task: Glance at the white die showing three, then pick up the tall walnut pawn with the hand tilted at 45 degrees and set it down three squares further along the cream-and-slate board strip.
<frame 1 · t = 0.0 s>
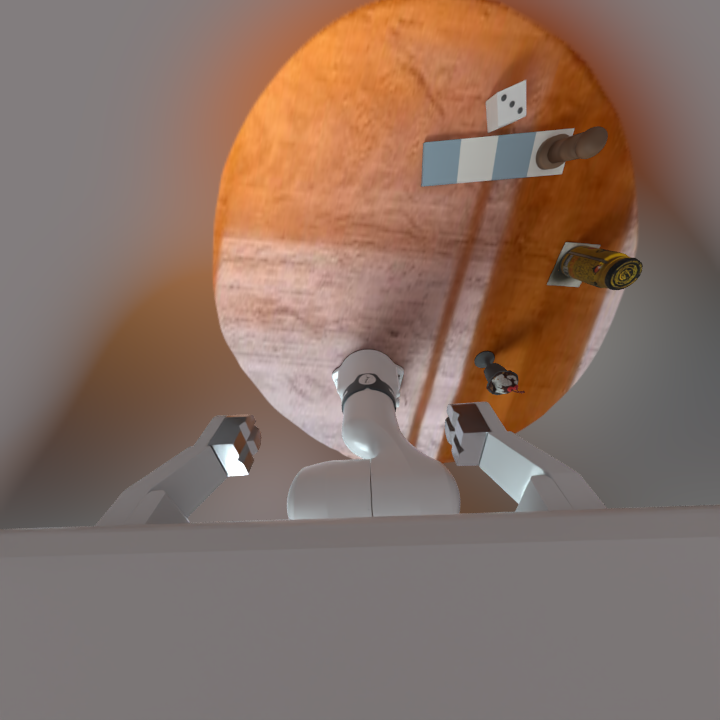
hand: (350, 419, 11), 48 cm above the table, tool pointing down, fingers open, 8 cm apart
die: (499, 112, 41), on the table
pawn: (549, 153, 43), point 1 cm above the table, touching board
sundae: (484, 358, 66), on the table
board: (492, 159, 44), on the table
condiment: (571, 265, 54), on the table
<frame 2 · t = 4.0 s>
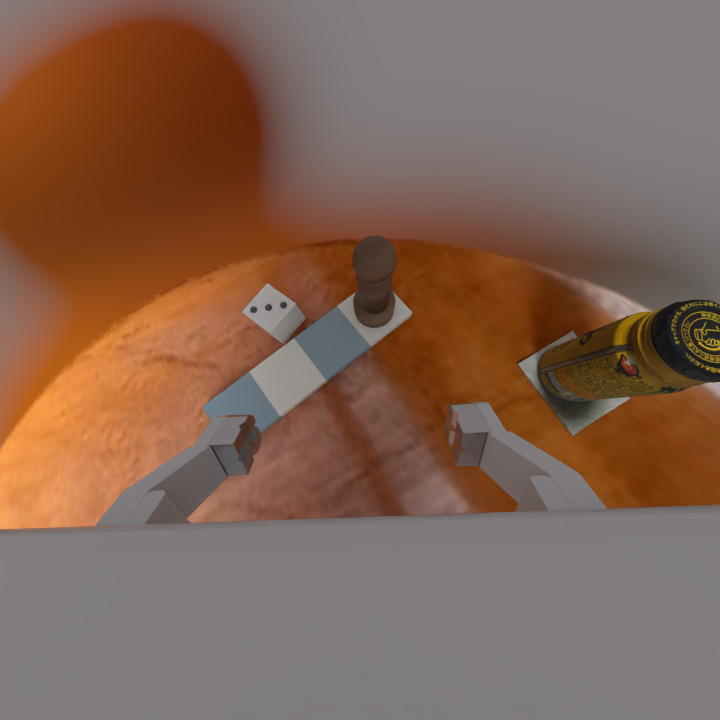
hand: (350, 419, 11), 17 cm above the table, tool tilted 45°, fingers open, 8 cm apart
die: (282, 322, 30), on the table
pawn: (374, 309, 29), point 1 cm above the table, touching board
board: (311, 360, 29), on the table
condiment: (569, 381, 27), on the table
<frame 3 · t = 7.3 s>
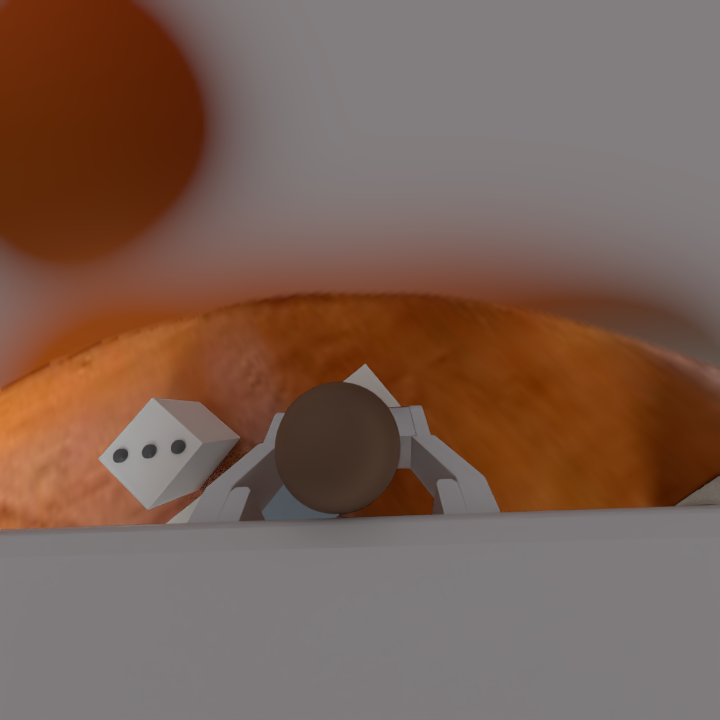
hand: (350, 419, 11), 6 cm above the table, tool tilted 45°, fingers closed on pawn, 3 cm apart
die: (200, 443, 17), on the table
pawn: (358, 430, 16), point 1 cm above the table, touching board, gripper
board: (246, 523, 16), on the table
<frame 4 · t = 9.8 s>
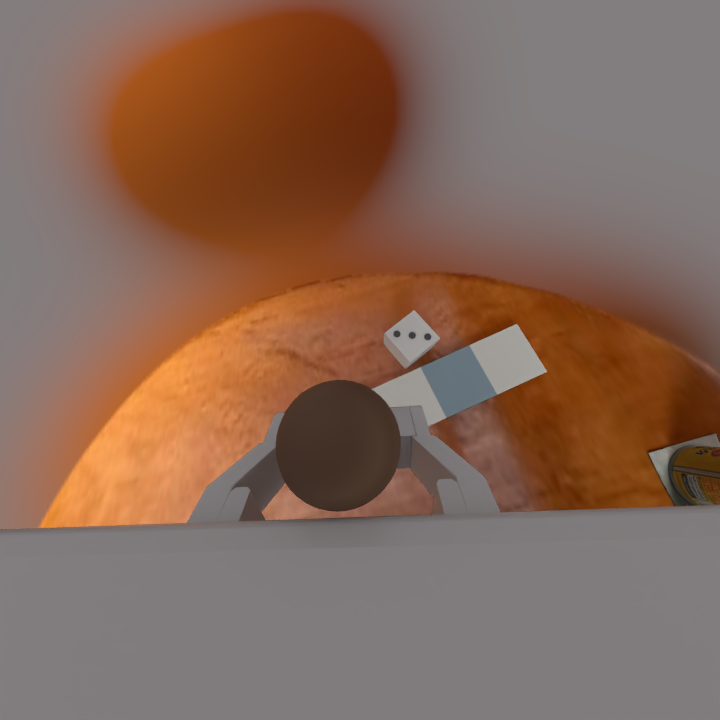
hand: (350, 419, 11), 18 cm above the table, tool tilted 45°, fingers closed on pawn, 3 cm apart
die: (407, 346, 30), on the table
pawn: (358, 429, 16), point 13 cm above the table, touching gripper
board: (431, 392, 29), on the table
condiment: (700, 485, 25), on the table
when the fingers open (7 cm above the table, at t = 12.3 s): pawn stays where it is, resting on board.
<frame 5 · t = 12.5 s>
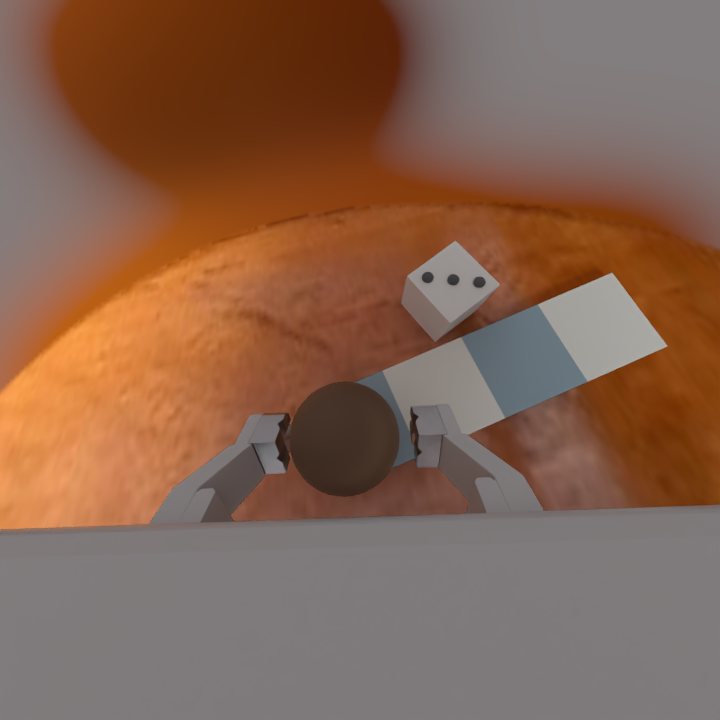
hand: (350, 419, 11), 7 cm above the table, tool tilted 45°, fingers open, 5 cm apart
die: (437, 307, 20), on the table
pawn: (359, 429, 17), point 1 cm above the table, touching board
board: (476, 378, 18), on the table
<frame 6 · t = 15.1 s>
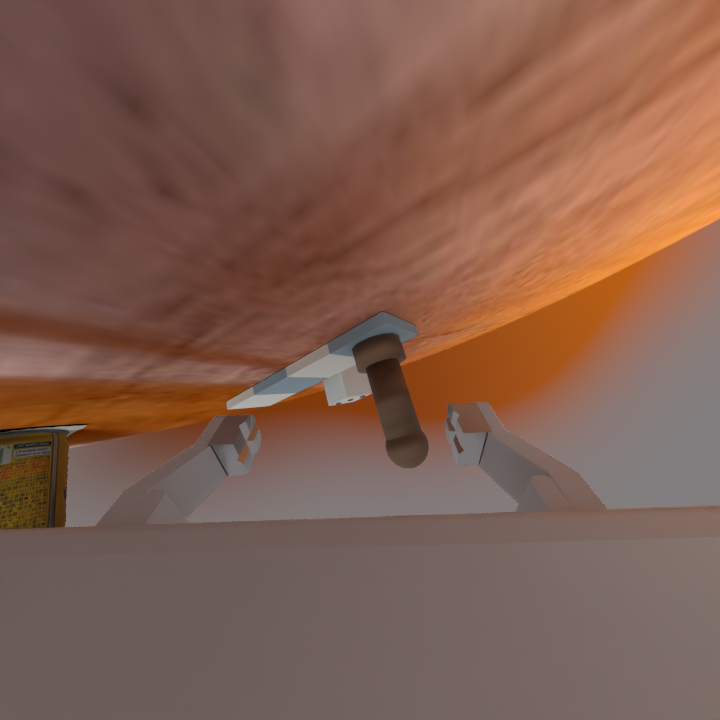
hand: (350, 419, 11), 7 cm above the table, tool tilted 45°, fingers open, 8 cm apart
die: (342, 369, 33), on the table
pawn: (375, 344, 23), point 1 cm above the table, touching board
board: (307, 368, 28), on the table
condiment: (5, 435, 23), on the table
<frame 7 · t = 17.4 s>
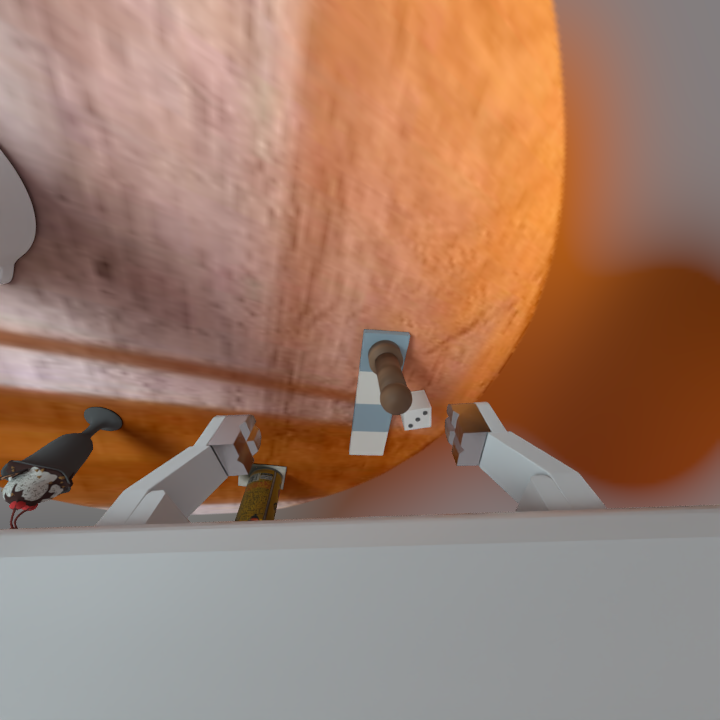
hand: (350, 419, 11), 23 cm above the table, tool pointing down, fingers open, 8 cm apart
die: (411, 401, 41), on the table
pawn: (384, 354, 35), point 1 cm above the table, touching board
sundae: (105, 417, 39), on the table
board: (374, 400, 40), on the table
condiment: (262, 474, 49), on the table
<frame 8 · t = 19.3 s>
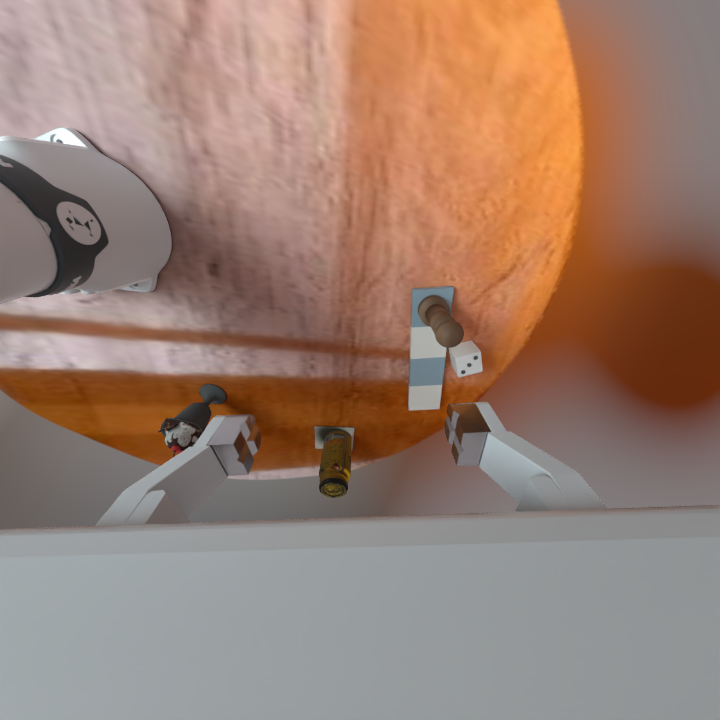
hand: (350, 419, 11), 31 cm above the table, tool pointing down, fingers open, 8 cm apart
die: (461, 352, 45), on the table
pawn: (432, 308, 40), point 1 cm above the table, touching board
sundae: (214, 393, 50), on the table
board: (426, 355, 45), on the table
condiment: (334, 437, 57), on the table
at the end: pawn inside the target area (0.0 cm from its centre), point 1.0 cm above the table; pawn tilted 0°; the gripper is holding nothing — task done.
